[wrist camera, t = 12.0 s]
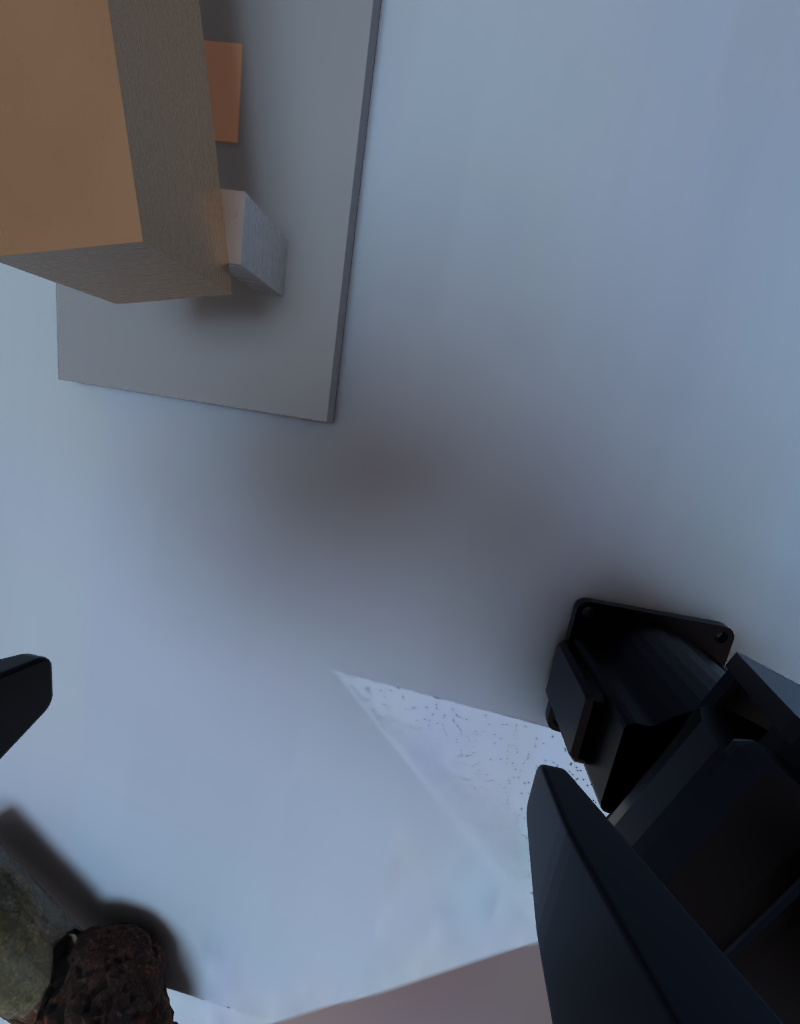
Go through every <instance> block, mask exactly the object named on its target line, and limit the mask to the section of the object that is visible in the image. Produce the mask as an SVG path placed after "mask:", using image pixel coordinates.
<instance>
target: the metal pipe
mask: <svg viewBox="0 0 800 1024" xmlns="http://www.w3.org/2000/svg"><path fill="white" fill-rule="evenodd" d="M167 964H168V961H167V957H166V955H165V953H164V951H163V949H162V947H161V945H160V944H159V943H156V942H154V941H151V938H150V935H149V934H148V933H147V932H146V931H145V930H144V929H142V928H140V927H138V926H137V925H136V924H127V925H124V924H117V925H113V926H111V925H108V926H106V927H103V926H93V927H90V928H88V929H87V930H85V931H84V930H82V929H81V928H80V927H79V926H78V925H77V924H76V923H75V922H73V921H72V920H71V919H70V917H69V916H68V915H67V914H66V913H65V912H64V911H63V910H62V909H61V908H60V907H59V906H58V905H57V904H56V903H55V902H54V901H53V899H52V898H51V897H50V896H49V895H48V894H47V893H46V892H45V891H44V890H43V889H42V888H41V887H40V886H39V885H38V884H37V883H36V882H35V881H34V879H33V878H32V877H31V876H30V875H29V874H28V873H27V872H26V871H25V870H24V869H23V868H22V867H21V866H20V865H19V864H18V863H17V861H16V860H15V859H14V858H13V857H12V856H11V855H10V854H9V853H8V852H7V851H6V850H5V849H4V848H3V847H2V846H1V845H0V1017H1V1018H3V1019H4V1020H6V1021H8V1022H9V1023H11V1024H178V1023H177V1022H174V1021H173V1016H174V1011H173V1009H172V1007H171V1006H170V999H169V997H168V994H167V989H166V982H165V968H166V966H167Z"/></svg>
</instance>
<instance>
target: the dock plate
mask: <svg viewBox="0 0 800 1024" xmlns="http://www.w3.org/2000/svg"><path fill="white" fill-rule="evenodd" d="M199 2H200V11H201V19H202V28H203V37H204V46H205V55H206V64H207V73H208V82H209V91H210V100H211V109H212V118H213V127H214V136H215V144H216V153H217V162H218V171H219V180H220V189H227V190H236V191H244V192H246V193H247V194H248V195H249V196H250V198H251V199H252V200H253V201H254V202H255V203H256V204H257V206H258V207H259V208H260V209H261V210H262V211H263V212H264V213H265V215H266V216H267V217H268V218H269V219H270V220H271V221H272V223H273V224H274V225H275V226H276V227H277V228H278V229H279V231H280V232H281V233H282V234H283V235H284V236H285V237H286V239H287V240H288V253H287V265H286V277H285V288H284V297H279V296H271V295H264V294H259V293H257V292H256V291H254V290H253V289H252V288H250V287H249V286H247V285H246V284H244V283H243V282H241V281H240V280H238V279H237V278H235V277H234V276H233V275H231V274H230V278H231V287H232V295H222V296H210V297H199V298H187V299H175V300H163V301H151V302H139V303H127V304H115V303H112V302H109V301H106V300H103V299H101V298H98V297H95V296H92V295H90V294H87V293H84V292H81V291H78V290H76V289H73V288H70V287H67V286H64V285H62V284H59V283H56V305H57V343H58V379H59V380H65V381H72V382H78V383H84V384H91V385H97V386H103V387H109V388H116V389H122V390H128V391H134V392H141V393H147V394H153V395H159V396H166V397H172V398H178V399H185V400H191V401H197V402H203V403H210V404H216V405H222V406H228V407H235V408H241V409H247V410H253V411H260V412H266V413H272V414H279V415H285V416H291V417H297V418H304V419H310V420H316V421H322V422H333V418H334V409H335V400H336V392H337V383H338V374H339V365H340V357H341V348H342V339H343V330H344V322H345V313H346V304H347V295H348V287H349V278H350V269H351V261H352V252H353V243H354V234H355V226H356V217H357V208H358V199H359V191H360V182H361V173H362V164H363V156H364V147H365V138H366V130H367V121H368V112H369V103H370V95H371V86H372V77H373V68H374V60H375V51H376V42H377V33H378V25H379V16H380V7H381V0H199Z"/></svg>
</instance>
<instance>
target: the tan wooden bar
mask: <svg viewBox="0 0 800 1024" xmlns="http://www.w3.org/2000/svg"><path fill="white" fill-rule="evenodd" d="M0 262H1V263H3V264H6V265H9V266H12V267H14V268H17V269H20V270H23V271H26V272H28V273H31V274H34V275H37V276H39V277H42V278H45V279H48V280H51V281H53V282H56V283H59V284H62V285H64V286H67V287H70V288H73V289H76V290H78V291H81V292H84V293H87V294H90V295H92V296H95V297H98V298H101V299H103V300H106V301H109V302H112V303H115V304H127V303H139V302H151V301H163V300H175V299H187V298H199V297H210V296H222V295H232V287H231V278H230V269H229V261H228V252H227V243H226V234H225V225H224V216H223V207H222V198H221V189H220V180H219V171H218V162H217V153H216V144H215V136H214V127H213V118H212V109H211V100H210V91H209V82H208V73H207V64H206V55H205V46H204V37H203V28H202V19H201V11H200V2H199V0H0Z"/></svg>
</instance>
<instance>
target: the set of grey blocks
mask: <svg viewBox="0 0 800 1024" xmlns="http://www.w3.org/2000/svg"><path fill="white" fill-rule="evenodd" d="M221 198H222V207H223V216H224V225H225V234H226V243H227V252H228V261H229V269H230V274H231V275H233V276H234V277H235V278H237V279H238V280H240V281H241V282H243V283H244V284H246V285H247V286H249V287H250V288H252V289H253V290H254V291H256V292H257V293H259V294H264V295H271V296H279V297H284V288H285V277H286V265H287V253H288V240H287V239H286V237H285V236H284V235H283V234H282V233H281V232H280V231H279V229H278V228H277V227H276V226H275V225H274V224H273V223H272V221H271V220H270V219H269V218H268V217H267V216H266V215H265V213H264V212H263V211H262V210H261V209H260V208H259V207H258V206H257V204H256V203H255V202H254V201H253V200H252V199H251V198H250V196H249V195H248V194H247V193H246V192H244V191H236V190H227V189H221Z"/></svg>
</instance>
